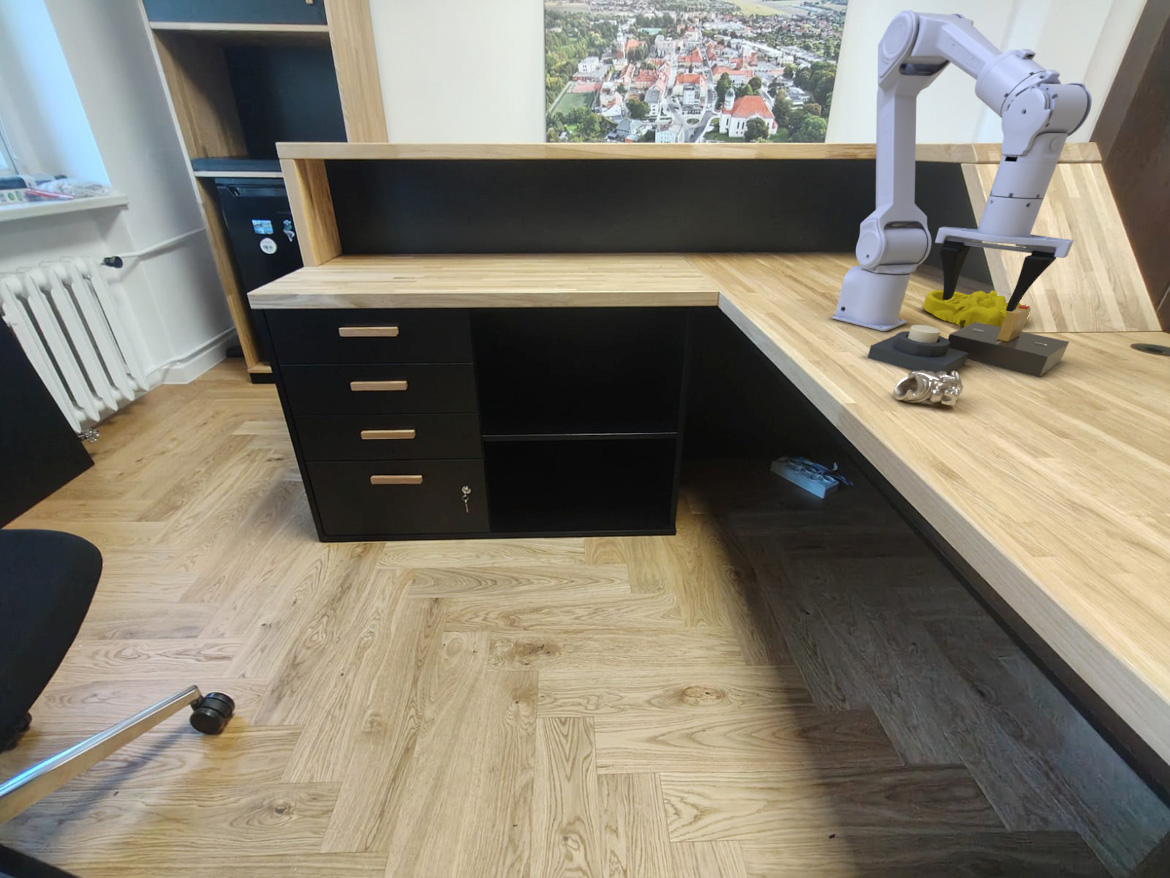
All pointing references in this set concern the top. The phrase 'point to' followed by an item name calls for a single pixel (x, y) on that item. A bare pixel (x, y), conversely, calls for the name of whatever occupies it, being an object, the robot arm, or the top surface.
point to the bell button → (924, 334)
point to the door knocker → (968, 308)
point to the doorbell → (918, 354)
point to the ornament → (929, 387)
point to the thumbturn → (1014, 323)
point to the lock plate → (1008, 349)
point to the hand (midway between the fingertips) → (977, 304)
